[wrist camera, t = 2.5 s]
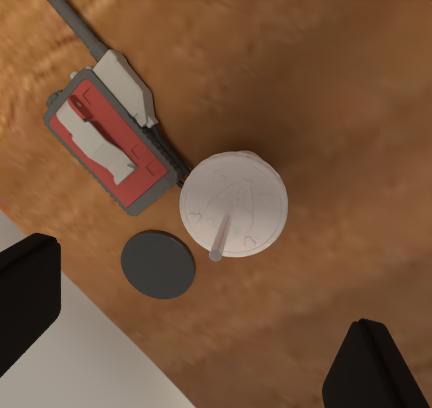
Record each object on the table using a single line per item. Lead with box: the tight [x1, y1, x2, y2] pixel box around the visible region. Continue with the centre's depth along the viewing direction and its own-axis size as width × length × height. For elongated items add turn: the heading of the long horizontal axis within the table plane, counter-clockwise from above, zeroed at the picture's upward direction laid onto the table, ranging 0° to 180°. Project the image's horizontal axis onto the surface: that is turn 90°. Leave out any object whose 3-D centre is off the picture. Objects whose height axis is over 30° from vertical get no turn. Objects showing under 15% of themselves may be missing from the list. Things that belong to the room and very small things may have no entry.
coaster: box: [121, 230, 195, 299], centre depth 30 cm, size 8×8×1 cm
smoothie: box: [180, 150, 288, 261], centre depth 19 cm, size 6×6×14 cm
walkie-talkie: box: [43, 0, 191, 216], centre depth 23 cm, size 9×4×20 cm
